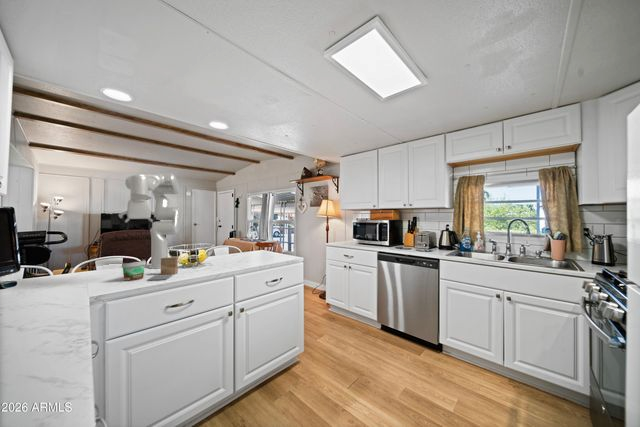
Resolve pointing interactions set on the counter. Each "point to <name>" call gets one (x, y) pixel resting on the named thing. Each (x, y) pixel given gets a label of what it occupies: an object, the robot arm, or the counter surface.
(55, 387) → the counter surface
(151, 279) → the mat
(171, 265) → the tan cardboard box
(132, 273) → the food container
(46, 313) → the counter surface
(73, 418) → the counter surface
